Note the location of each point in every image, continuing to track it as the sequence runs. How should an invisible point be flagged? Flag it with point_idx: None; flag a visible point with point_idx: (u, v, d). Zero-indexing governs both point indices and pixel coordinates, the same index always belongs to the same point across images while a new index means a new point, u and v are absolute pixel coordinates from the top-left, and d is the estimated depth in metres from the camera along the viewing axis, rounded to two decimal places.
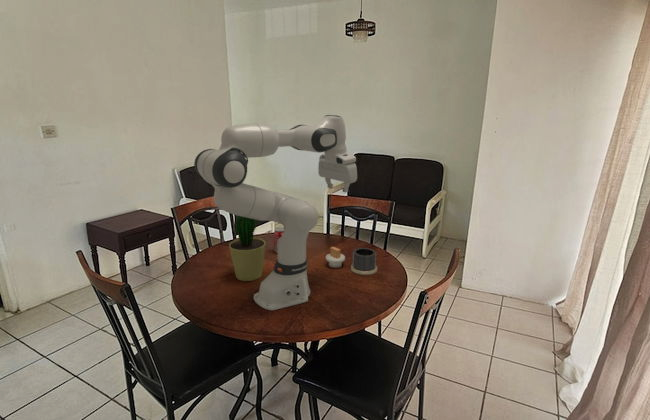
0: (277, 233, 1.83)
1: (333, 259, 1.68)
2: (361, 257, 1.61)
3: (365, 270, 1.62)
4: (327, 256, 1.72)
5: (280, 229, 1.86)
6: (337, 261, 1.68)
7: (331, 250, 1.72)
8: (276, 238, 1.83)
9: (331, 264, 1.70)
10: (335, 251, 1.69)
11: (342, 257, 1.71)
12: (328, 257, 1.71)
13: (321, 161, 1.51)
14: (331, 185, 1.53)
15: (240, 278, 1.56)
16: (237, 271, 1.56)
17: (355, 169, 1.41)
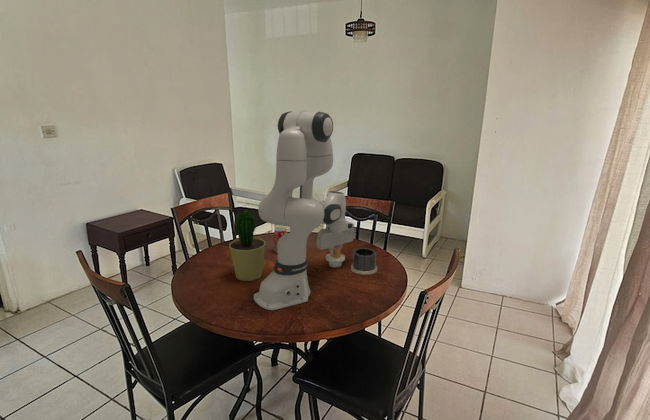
0: (277, 233, 1.83)
1: (333, 259, 1.68)
2: (361, 257, 1.61)
3: (365, 270, 1.62)
4: (327, 256, 1.72)
5: (280, 229, 1.86)
6: (337, 261, 1.68)
7: None
8: (276, 238, 1.83)
9: (331, 264, 1.70)
10: (335, 251, 1.69)
11: (342, 257, 1.71)
12: (328, 257, 1.71)
13: (326, 235, 1.63)
14: None
15: (240, 278, 1.56)
16: (237, 271, 1.56)
17: None
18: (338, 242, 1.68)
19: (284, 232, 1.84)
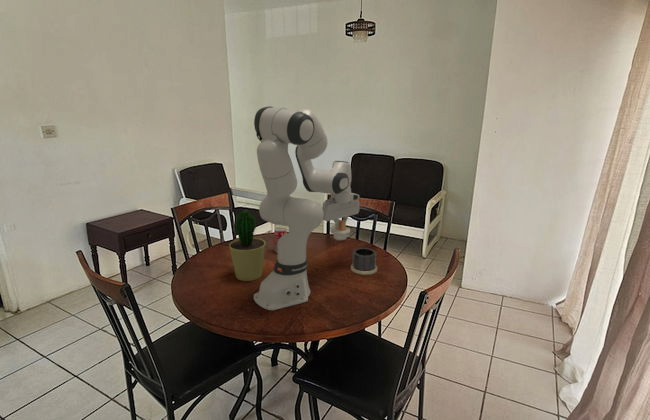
0: (277, 233, 1.83)
1: (338, 231, 1.64)
2: (361, 257, 1.61)
3: (365, 270, 1.62)
4: (332, 229, 1.68)
5: (280, 229, 1.86)
6: (342, 233, 1.63)
7: None
8: (276, 238, 1.83)
9: (336, 237, 1.66)
10: (340, 223, 1.65)
11: (347, 229, 1.67)
12: (333, 229, 1.66)
13: (331, 205, 1.58)
14: None
15: (240, 278, 1.56)
16: (237, 271, 1.56)
17: None
18: (343, 214, 1.64)
19: (284, 232, 1.84)
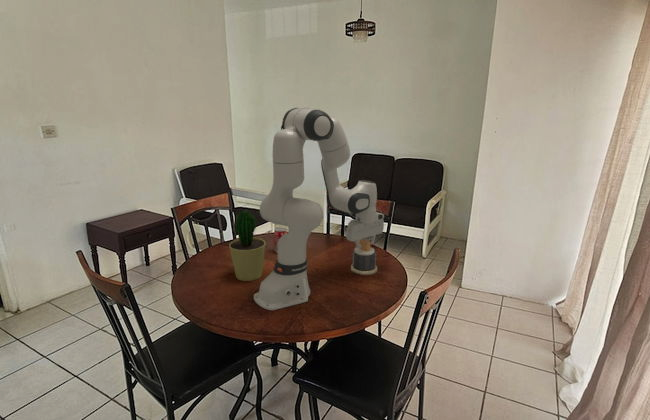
0: (277, 233, 1.83)
1: (363, 252, 1.62)
2: (361, 257, 1.61)
3: (365, 270, 1.62)
4: (356, 249, 1.66)
5: (280, 229, 1.86)
6: (367, 254, 1.61)
7: (360, 243, 1.65)
8: (276, 238, 1.83)
9: None
10: (365, 244, 1.63)
11: (372, 250, 1.65)
12: (357, 250, 1.64)
13: (356, 225, 1.56)
14: None
15: (240, 278, 1.56)
16: (237, 271, 1.56)
17: None
18: (368, 234, 1.62)
19: (284, 232, 1.84)
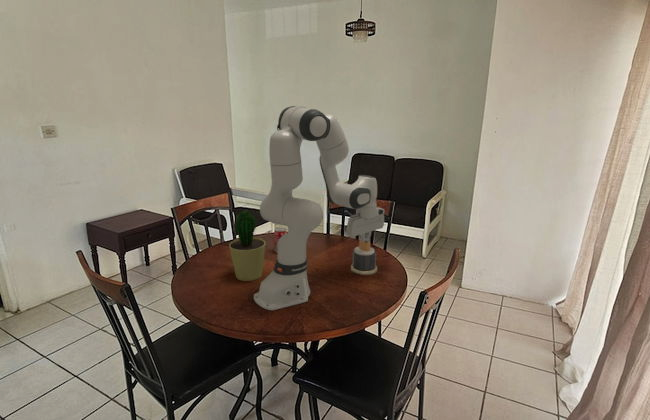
0: (277, 233, 1.83)
1: (363, 252, 1.62)
2: (361, 257, 1.61)
3: (365, 270, 1.62)
4: (356, 249, 1.66)
5: (280, 229, 1.86)
6: (367, 254, 1.61)
7: (360, 243, 1.65)
8: (276, 238, 1.83)
9: None
10: (365, 244, 1.63)
11: (372, 250, 1.65)
12: (357, 250, 1.64)
13: (357, 220, 1.56)
14: None
15: (240, 278, 1.56)
16: (237, 271, 1.56)
17: None
18: (368, 229, 1.61)
19: (284, 232, 1.84)
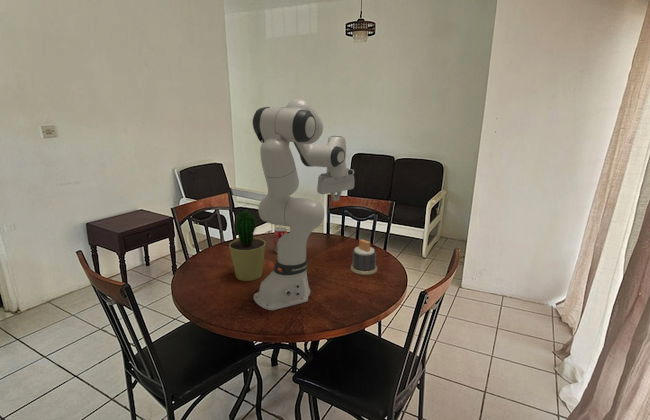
0: (277, 233, 1.83)
1: (363, 252, 1.62)
2: (361, 257, 1.61)
3: (365, 270, 1.62)
4: (356, 249, 1.66)
5: (280, 229, 1.86)
6: (367, 254, 1.61)
7: (360, 243, 1.65)
8: (276, 238, 1.83)
9: None
10: (365, 244, 1.63)
11: (372, 250, 1.65)
12: (357, 250, 1.64)
13: (326, 179, 1.64)
14: None
15: (240, 278, 1.56)
16: (237, 271, 1.56)
17: None
18: (339, 188, 1.70)
19: (284, 232, 1.84)
